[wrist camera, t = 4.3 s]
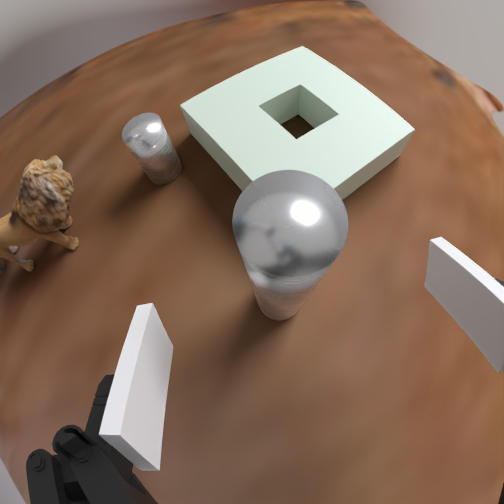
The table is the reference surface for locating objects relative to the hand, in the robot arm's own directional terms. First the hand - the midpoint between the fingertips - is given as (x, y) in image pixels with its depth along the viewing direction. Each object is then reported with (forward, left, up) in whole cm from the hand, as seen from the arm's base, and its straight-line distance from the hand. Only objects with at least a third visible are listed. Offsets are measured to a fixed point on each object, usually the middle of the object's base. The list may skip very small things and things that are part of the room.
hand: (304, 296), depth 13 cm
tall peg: (-1, 0, -8) cm, 9 cm away
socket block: (-11, +10, -8) cm, 18 cm away
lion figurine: (-19, -14, -9) cm, 25 cm away
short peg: (-16, -1, -8) cm, 19 cm away
